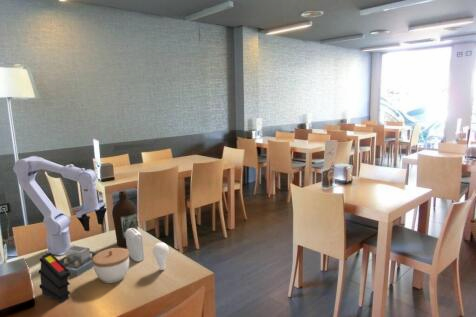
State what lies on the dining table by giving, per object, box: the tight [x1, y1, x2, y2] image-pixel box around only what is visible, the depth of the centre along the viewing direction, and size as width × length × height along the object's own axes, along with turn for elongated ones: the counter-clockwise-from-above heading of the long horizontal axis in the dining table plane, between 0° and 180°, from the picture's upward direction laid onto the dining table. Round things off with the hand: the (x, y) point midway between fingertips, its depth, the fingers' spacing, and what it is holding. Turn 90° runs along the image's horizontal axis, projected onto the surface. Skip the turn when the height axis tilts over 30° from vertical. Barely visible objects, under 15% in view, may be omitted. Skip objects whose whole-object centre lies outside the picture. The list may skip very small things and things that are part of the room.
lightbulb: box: [152, 242, 170, 271], centre depth 127 cm, size 6×6×11 cm
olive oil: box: [111, 189, 139, 248], centre depth 151 cm, size 11×11×25 cm
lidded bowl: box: [93, 247, 130, 284], centre depth 122 cm, size 13×13×11 cm
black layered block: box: [38, 253, 72, 303], centre depth 112 cm, size 4×13×15 cm, turn 60°
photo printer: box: [125, 228, 145, 262], centre depth 138 cm, size 10×4×12 cm, turn 39°
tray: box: [58, 250, 98, 277], centre depth 134 cm, size 14×14×4 cm
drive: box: [64, 244, 91, 266], centre depth 133 cm, size 9×4×6 cm, turn 67°
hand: (94, 227), depth 145 cm, fingers open, 7 cm apart
